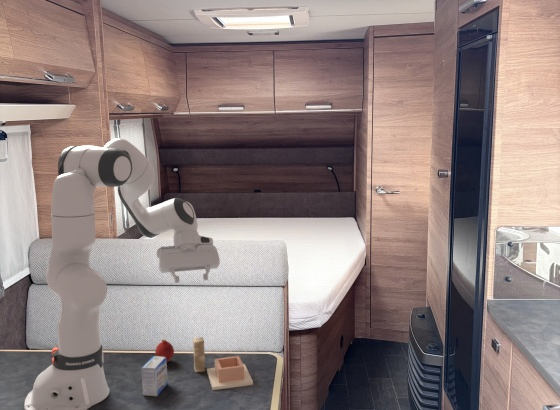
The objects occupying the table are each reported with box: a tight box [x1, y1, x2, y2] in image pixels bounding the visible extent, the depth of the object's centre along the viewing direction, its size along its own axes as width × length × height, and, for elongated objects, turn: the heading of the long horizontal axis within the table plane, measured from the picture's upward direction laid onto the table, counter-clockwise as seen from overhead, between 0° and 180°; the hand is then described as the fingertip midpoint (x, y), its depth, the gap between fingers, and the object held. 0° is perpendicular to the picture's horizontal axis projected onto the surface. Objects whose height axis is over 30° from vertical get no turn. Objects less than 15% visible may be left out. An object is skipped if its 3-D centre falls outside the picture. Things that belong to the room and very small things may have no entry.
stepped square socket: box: [206, 355, 254, 391], centre depth 171 cm, size 12×12×5 cm
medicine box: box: [141, 355, 168, 397], centre depth 164 cm, size 8×4×9 cm, turn 168°
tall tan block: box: [192, 336, 206, 373], centre depth 176 cm, size 3×3×10 cm
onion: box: [155, 338, 175, 363], centre depth 181 cm, size 6×6×8 cm
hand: (191, 280), depth 187 cm, fingers open, 8 cm apart
